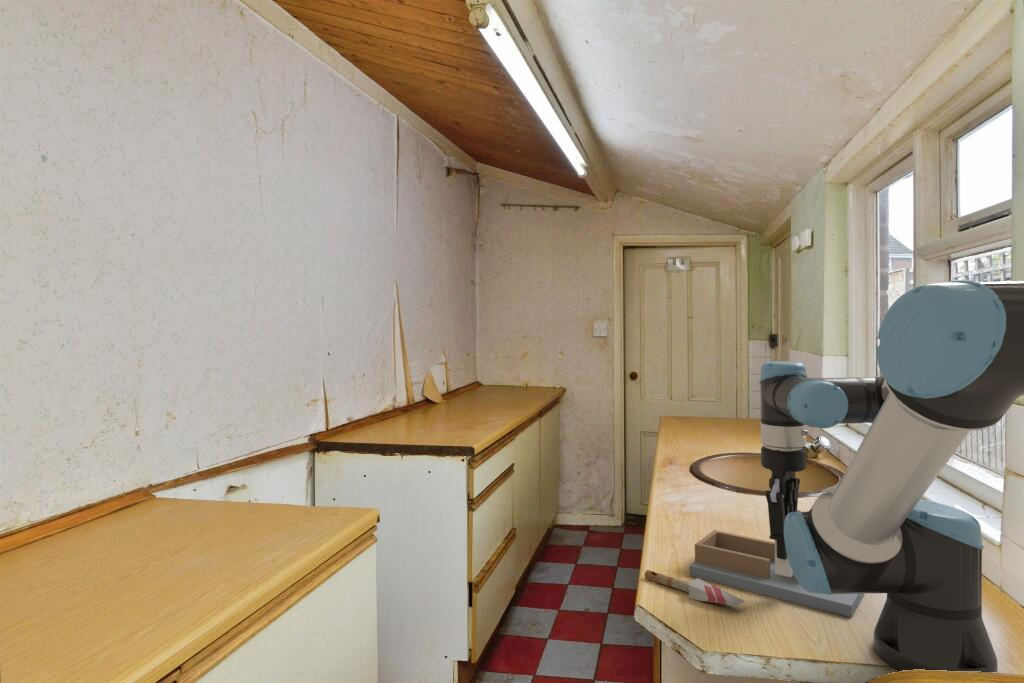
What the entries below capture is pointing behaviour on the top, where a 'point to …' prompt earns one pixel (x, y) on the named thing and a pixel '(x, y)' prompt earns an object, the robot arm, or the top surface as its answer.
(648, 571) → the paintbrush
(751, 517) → the top surface
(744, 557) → the slate deck with cubby
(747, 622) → the top surface
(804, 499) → the top surface
